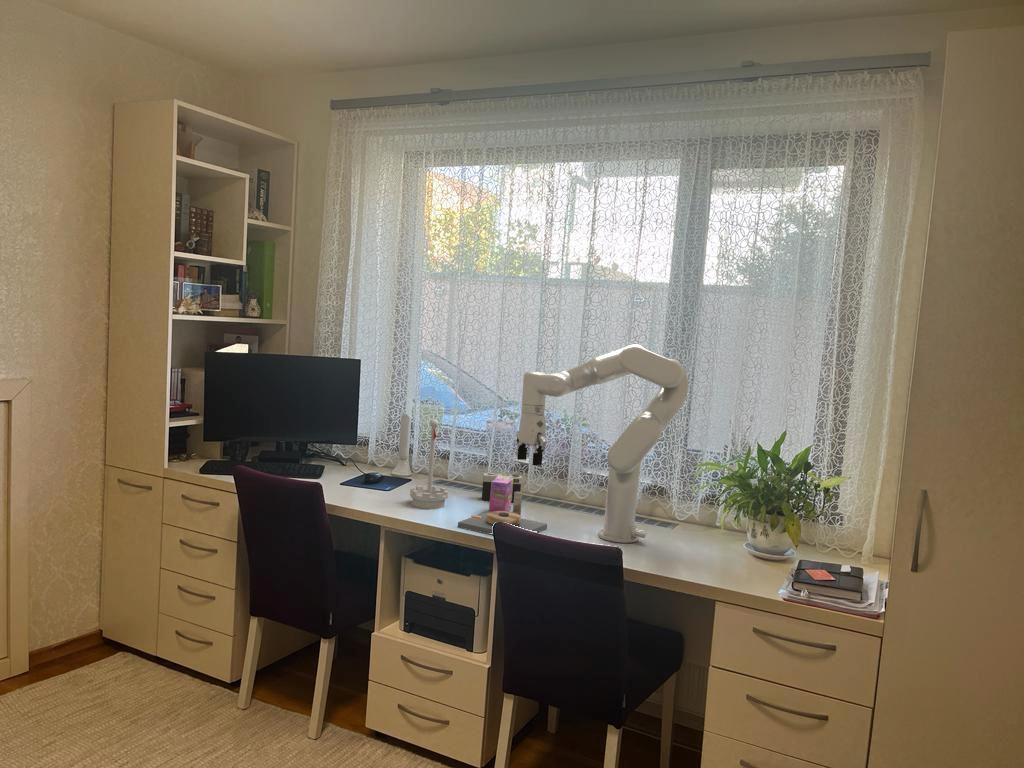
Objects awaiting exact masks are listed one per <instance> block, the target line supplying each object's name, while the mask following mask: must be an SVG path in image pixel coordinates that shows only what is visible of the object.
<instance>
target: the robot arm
mask: <svg viewBox="0 0 1024 768" xmlns="http://www.w3.org/2000/svg"><path fill="white" fill-rule="evenodd" d="M629 375H634V376H636V377H638V378H640V379H642V380H645V381H648V382H650V383H652V384H654V385H658V386H659V390H658V391H657V393H656V394H655V395H654V397H653V398H652V399H651V400H650V402H649V403H648V404H647V405H646V407H645V408H644V409H643V410H642V412H640V413H639V414H638V415H637V416H635V417H634V419H633V420H631V422H630V423H629V424H628V426H627V427H626V429H625V430H624V431H623V432H622V433H621V434H620V436H619V437H618V438H617V440H616V441H615V442H614V443H613V444H612V445H611V447H609V450H608V452H607V455H606V461H607V464H608V466H609V467H608V468H609V471H608V477H607V486H606V487H607V488H606V490H607V491H606V498H605V499H606V500H605V508H604V509H605V510H604V520H603V521H604V522H603V529H600V530H598V534H597V535H598V537H599V538H601V539H603V540H605V541H609V542H613V543H626V544H627V543H629V544H630V543H635V542H638V540H639V538H641V539H646V538H647V532H646V530H642V529H639V528H638V524H635V523H636V522H635V521H636V513H637V511H636V509H637V501H638V500H637V499H638V490H639V481H640V473H641V470H640V469H641V463H642V461H643V460H644V458H645V457H646V456H647V455H648V454H649V453H650V452H651V449H652V448H653V447H654V446H655V445H656V444H657V442H659V440H660V437H662V434H663V431H664V430H665V429H666V428H667V426H668V425H669V424H670V422H671V421H673V419H674V417H675V416H676V415H677V414H678V412H679V411H680V409H681V408H682V406H683V405H684V403H685V401H686V399H687V396H688V392H689V379H688V376H687V372H686V370H685V367H684V366H683V365H682V363H681V362H680V361H678V360H677V359H674V358H667V357H664V356H663V355H660V354H657V353H655V352H652V351H650V350H648V349H646V348H645V347H644V346H643V345H641V344H637V343H634V344H633V343H632V344H628V345H627V346H624V347H621V348H618V349H616V350H612V351H609V352H607V353H604V354H602V355H598V356H595V357H594V358H593V357H592V358H591V359H589V360H588V361H586V362H584V363H581V364H580V365H575V366H574V367H571V368H568V369H566V370H562V371H558V372H555V373H554V372H553V373H545V372H543V371H533V370H530V371H526V372H524V374H523V381H522V394H521V410H520V414H521V415H520V420H519V426H518V431H517V432H516V433H515V435H516V442H517V444H516V446H517V456H516V459H517V460H519V461H520V460H521V461H523V460H527V458H528V455H527V454H528V447H527V446H529V447H532V448H533V452H532V453H533V454H532V466H542V464H543V455H544V452H545V449H546V446H547V440H546V435H547V434H546V433H547V432H546V431H547V430H546V428H547V426H546V416H545V412H546V397H547V396H548V397H552V398H559V397H560V398H561V397H563V396H565V395H567V394H570V393H573V392H576V391H579V390H582V389H584V388H587V387H588V388H589V387H591V386H595V385H602V384H605V383H608V382H611V381H614V380H617V379H619V378H622V377H625V376H629Z"/></svg>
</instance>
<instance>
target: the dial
mask: <svg viewBox="0 0 1024 768" xmlns="http://www.w3.org/2000/svg"><path fill="white" fill-rule="evenodd" d="M522 501H523V492H522V491H520V492H514V503H513V505H512V510H511V511H510V512H506V511H493V512H488V511H487V512H488V513H487V514H486V522H488V523H490V524H494V523H495V522H506V523H509V524H512V525H515V526H516V525H519V524H520V523H521V518H522V517H521V516H522Z"/></svg>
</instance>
